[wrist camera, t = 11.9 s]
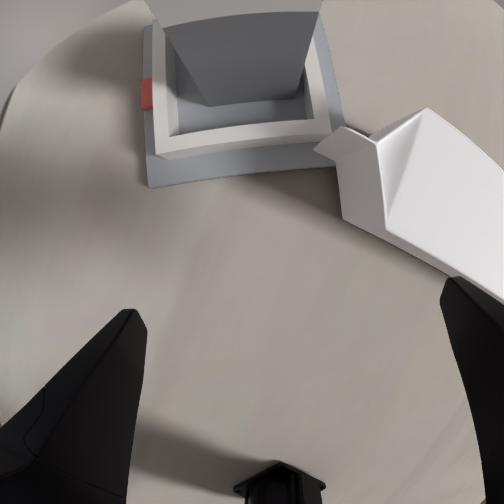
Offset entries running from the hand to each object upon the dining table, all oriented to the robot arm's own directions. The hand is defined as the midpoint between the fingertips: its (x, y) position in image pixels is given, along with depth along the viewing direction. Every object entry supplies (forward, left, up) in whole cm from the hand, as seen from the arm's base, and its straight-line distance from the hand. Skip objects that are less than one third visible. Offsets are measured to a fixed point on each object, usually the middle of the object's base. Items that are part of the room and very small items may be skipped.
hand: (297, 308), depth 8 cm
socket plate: (+6, +9, -10) cm, 15 cm away
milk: (+13, -18, -7) cm, 24 cm away
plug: (+7, +9, -10) cm, 14 cm away
